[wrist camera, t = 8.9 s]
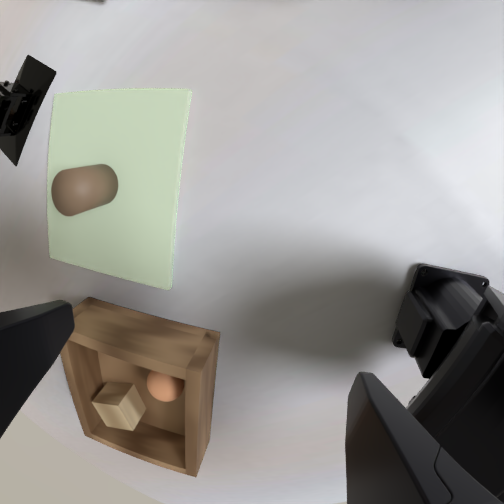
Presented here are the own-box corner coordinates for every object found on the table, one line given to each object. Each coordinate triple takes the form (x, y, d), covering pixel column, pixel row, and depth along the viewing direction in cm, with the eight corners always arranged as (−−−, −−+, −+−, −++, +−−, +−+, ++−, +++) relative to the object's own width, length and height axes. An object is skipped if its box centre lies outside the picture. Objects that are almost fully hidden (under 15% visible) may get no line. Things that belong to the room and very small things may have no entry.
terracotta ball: (189, 363, 24) (176, 387, 21) (188, 389, 25) (176, 413, 22) (155, 353, 24) (139, 375, 21) (156, 380, 25) (142, 402, 22)
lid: (195, 91, 19) (162, 76, 14) (174, 284, 24) (144, 316, 19) (63, 95, 20) (19, 90, 16) (58, 253, 25) (19, 273, 20)
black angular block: (19, 183, 24) (-16, 192, 19) (-12, 148, 23) (-44, 153, 19) (73, 61, 19) (36, 52, 15) (34, 38, 19) (1, 30, 15)
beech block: (133, 383, 26) (118, 405, 23) (146, 408, 27) (133, 430, 24) (107, 381, 27) (91, 402, 24) (121, 405, 27) (106, 426, 24)
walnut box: (220, 332, 24) (200, 372, 19) (209, 440, 28) (196, 477, 23) (88, 296, 25) (54, 323, 20) (106, 405, 29) (84, 435, 25)
